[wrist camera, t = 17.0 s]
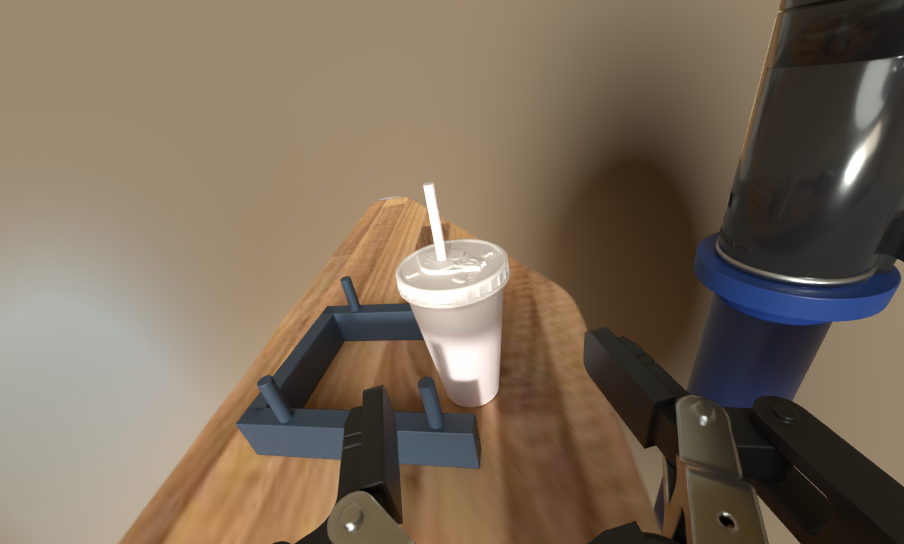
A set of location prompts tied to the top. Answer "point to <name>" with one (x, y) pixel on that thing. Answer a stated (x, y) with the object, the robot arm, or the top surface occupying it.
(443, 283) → the smoothie
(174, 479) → the top surface
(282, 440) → the rack
